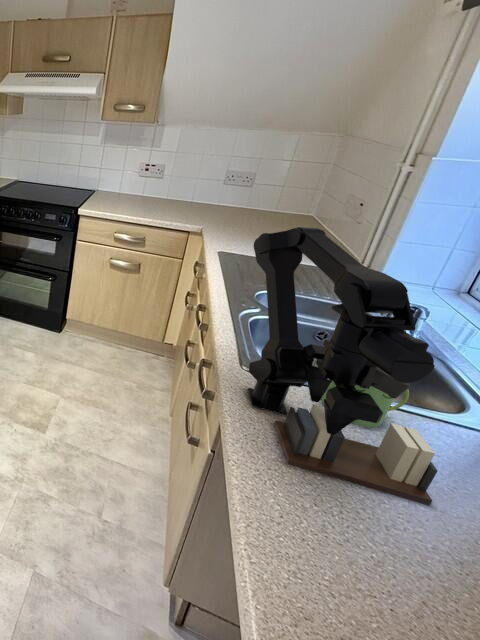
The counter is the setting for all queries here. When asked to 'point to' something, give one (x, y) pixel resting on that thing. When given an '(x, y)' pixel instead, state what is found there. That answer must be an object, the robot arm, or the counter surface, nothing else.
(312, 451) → the cream book
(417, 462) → the cream book
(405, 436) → the cream book
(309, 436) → the grey book
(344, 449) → the book rack
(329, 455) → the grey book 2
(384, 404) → the mug
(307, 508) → the counter surface
